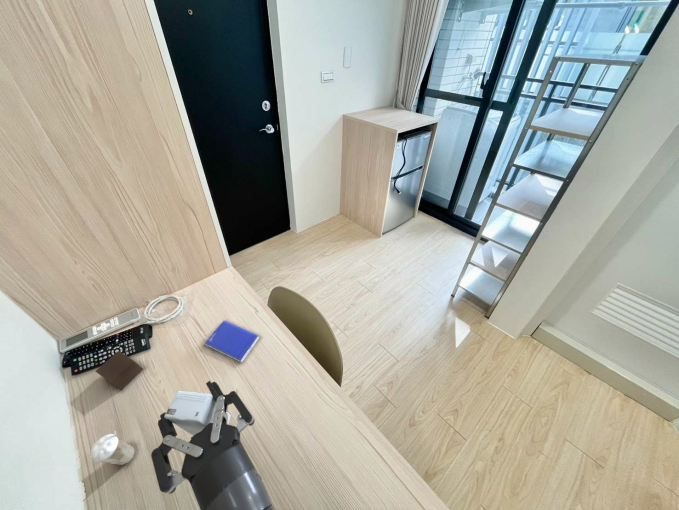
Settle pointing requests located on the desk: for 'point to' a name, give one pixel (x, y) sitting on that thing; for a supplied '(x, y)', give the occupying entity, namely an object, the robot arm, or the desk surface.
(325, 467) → the desk surface
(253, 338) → the hard drive
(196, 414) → the cosmetic box
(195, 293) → the desk surface
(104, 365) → the walnut cube
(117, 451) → the milkshake
